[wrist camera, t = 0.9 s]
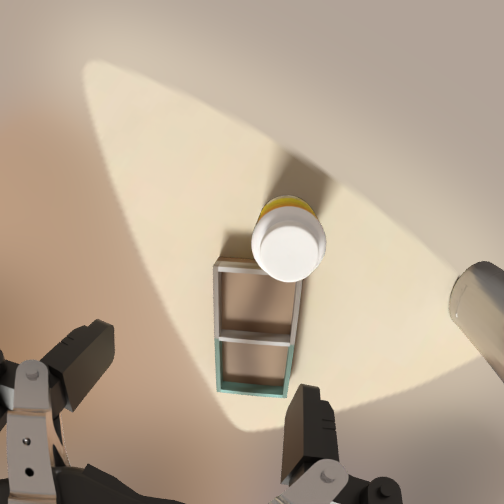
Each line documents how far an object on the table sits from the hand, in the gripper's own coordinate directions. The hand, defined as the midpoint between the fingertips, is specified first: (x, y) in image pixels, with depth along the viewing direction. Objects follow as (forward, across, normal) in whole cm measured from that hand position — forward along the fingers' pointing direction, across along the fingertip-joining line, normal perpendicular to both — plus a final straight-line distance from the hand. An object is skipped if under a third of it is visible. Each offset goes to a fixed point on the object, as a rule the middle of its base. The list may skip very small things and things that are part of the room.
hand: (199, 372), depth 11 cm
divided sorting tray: (+20, -3, +10) cm, 22 cm away
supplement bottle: (+20, -3, -3) cm, 20 cm away
